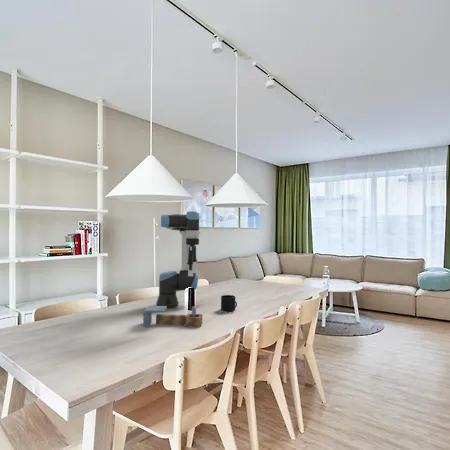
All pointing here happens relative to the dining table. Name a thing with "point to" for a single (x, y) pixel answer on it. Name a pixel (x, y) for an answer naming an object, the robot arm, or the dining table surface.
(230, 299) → the mug
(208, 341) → the dining table surface
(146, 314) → the keeper
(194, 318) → the link
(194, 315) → the pintle
